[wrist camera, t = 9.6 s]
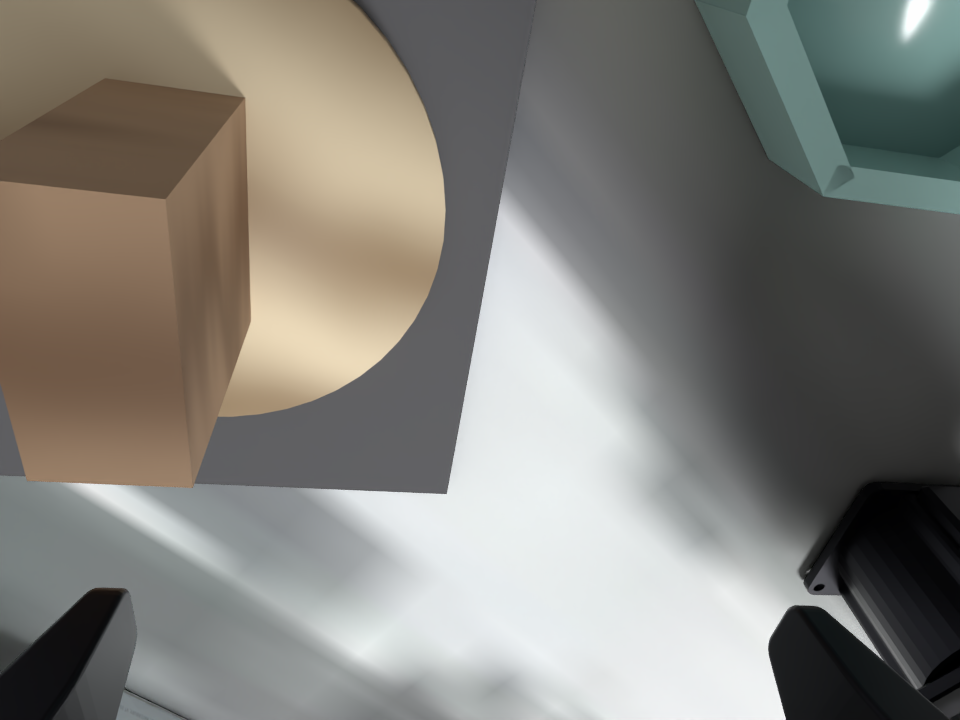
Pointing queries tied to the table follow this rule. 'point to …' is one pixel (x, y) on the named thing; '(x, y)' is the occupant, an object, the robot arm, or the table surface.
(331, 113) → the lid
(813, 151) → the bowl
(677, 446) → the table surface
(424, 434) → the mat
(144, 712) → the tea box
